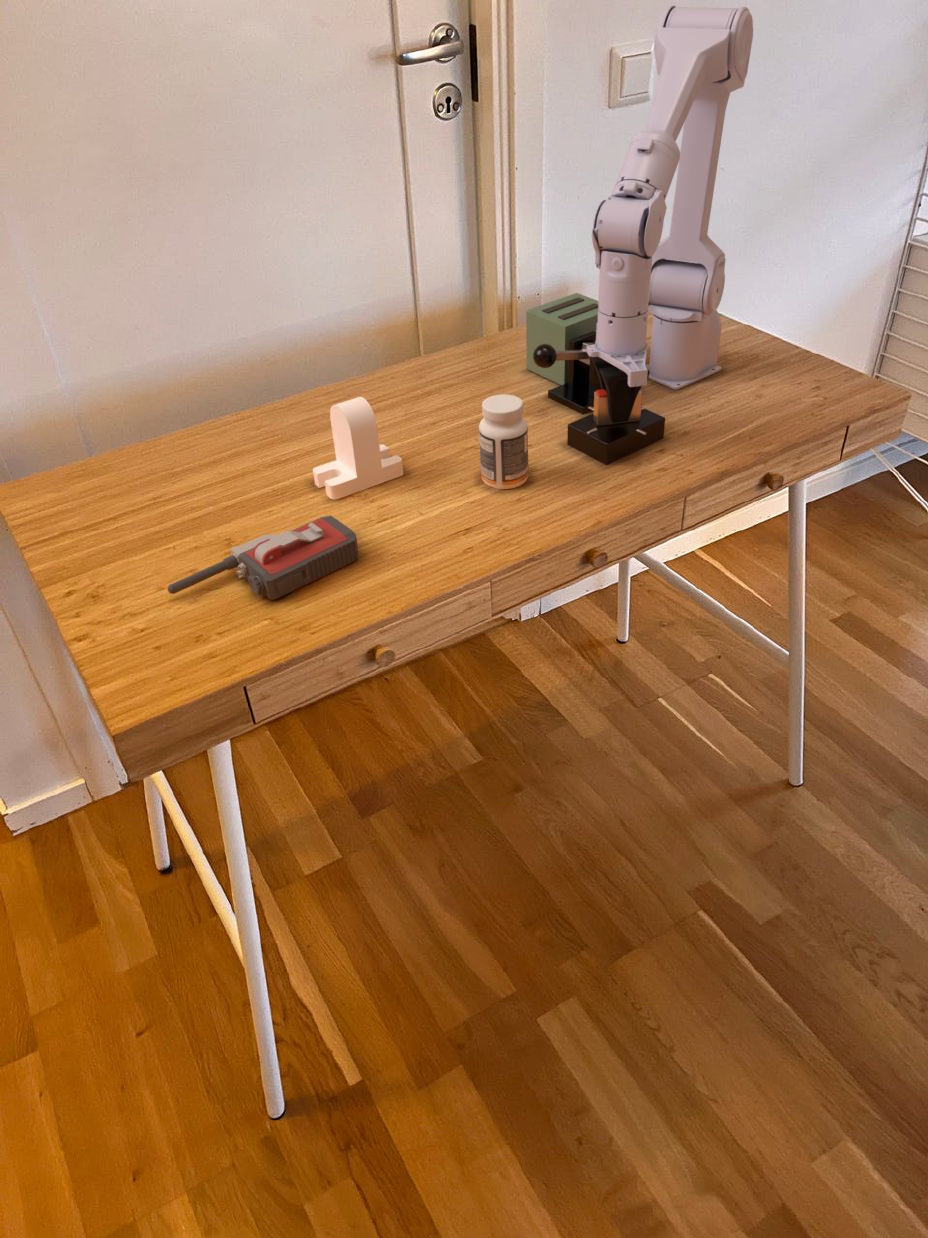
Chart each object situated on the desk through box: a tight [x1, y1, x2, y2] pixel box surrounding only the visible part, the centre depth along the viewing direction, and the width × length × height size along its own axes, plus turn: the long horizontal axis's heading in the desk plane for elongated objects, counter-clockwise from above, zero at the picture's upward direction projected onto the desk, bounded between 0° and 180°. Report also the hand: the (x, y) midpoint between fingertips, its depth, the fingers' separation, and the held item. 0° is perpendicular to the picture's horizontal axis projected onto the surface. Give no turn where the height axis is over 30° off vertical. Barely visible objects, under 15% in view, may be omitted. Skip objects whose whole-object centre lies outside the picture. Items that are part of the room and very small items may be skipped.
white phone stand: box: [312, 396, 404, 501], centre depth 113 cm, size 5×10×10 cm, turn 124°
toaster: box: [525, 292, 598, 386], centre depth 135 cm, size 10×8×9 cm
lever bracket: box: [547, 331, 601, 416], centre depth 129 cm, size 10×7×8 cm
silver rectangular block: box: [592, 389, 643, 426], centre depth 117 cm, size 6×2×4 cm, turn 99°
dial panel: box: [566, 406, 666, 466], centre depth 120 cm, size 10×10×3 cm
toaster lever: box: [533, 342, 595, 368], centre depth 125 cm, size 12×3×3 cm, turn 127°
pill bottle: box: [478, 393, 529, 490], centre depth 112 cm, size 6×6×10 cm
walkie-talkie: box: [167, 515, 360, 600], centre depth 100 cm, size 9×4×20 cm
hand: (616, 416), depth 118 cm, fingers closed on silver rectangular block, 2 cm apart
